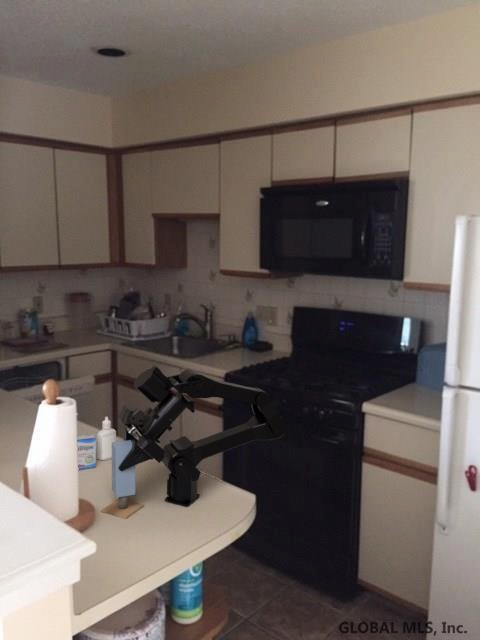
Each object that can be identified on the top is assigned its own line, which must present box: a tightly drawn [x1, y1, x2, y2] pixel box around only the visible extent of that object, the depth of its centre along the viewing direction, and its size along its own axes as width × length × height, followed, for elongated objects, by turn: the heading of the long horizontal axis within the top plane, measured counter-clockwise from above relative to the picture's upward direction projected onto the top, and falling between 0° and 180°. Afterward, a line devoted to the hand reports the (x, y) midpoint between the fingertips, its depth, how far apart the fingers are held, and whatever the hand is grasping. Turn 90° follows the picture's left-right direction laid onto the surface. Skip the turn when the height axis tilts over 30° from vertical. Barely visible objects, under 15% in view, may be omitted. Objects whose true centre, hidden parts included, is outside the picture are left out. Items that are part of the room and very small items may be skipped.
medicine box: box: [76, 432, 97, 471], centre depth 154 cm, size 8×4×9 cm, turn 117°
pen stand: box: [100, 496, 145, 520], centre depth 132 cm, size 7×7×5 cm
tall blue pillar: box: [111, 440, 136, 499], centre depth 131 cm, size 4×4×12 cm
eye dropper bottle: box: [96, 416, 117, 461], centre depth 161 cm, size 4×6×12 cm
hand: (117, 465), depth 130 cm, fingers closed on tall blue pillar, 4 cm apart
